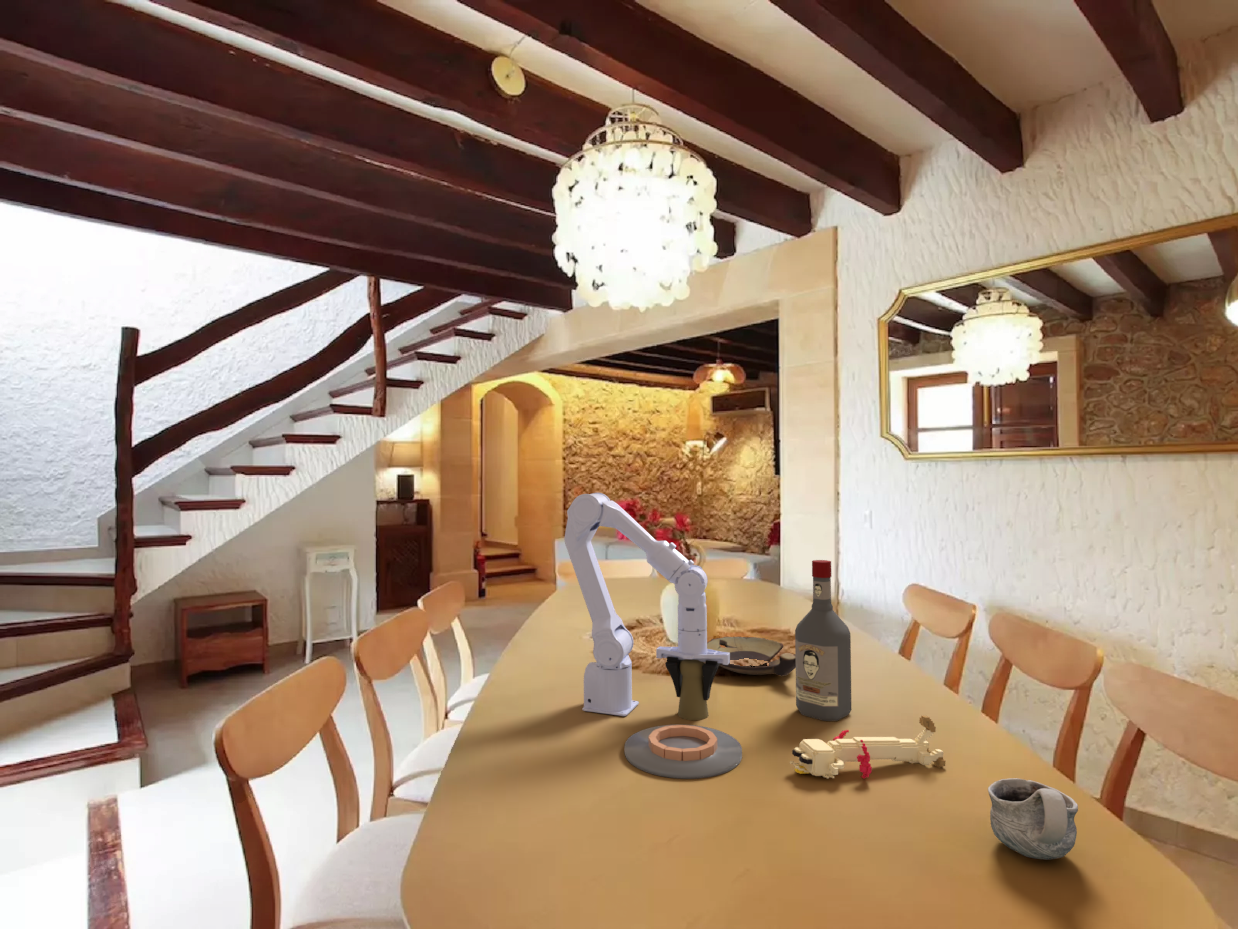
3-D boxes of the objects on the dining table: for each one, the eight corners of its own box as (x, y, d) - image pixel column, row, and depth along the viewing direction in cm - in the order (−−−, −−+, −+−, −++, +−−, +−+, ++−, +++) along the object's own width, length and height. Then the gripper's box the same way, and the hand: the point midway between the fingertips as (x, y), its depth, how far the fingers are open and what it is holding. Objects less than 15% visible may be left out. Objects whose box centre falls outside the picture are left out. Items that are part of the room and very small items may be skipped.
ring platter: (606, 767, 110) (606, 752, 110) (646, 724, 128) (646, 711, 128) (728, 787, 102) (728, 770, 102) (751, 738, 121) (751, 724, 121)
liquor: (814, 701, 140) (812, 557, 140) (856, 712, 134) (854, 560, 134) (791, 712, 134) (789, 561, 134) (833, 724, 127) (831, 565, 128)
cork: (707, 721, 130) (706, 663, 130) (676, 719, 131) (675, 662, 131) (709, 710, 135) (709, 655, 136) (679, 708, 137) (679, 654, 137)
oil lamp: (774, 654, 177) (774, 624, 177) (824, 690, 147) (823, 655, 147) (691, 658, 174) (691, 628, 174) (725, 696, 144) (725, 660, 144)
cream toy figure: (914, 757, 116) (778, 758, 111) (917, 706, 116) (782, 705, 111) (953, 783, 106) (807, 786, 101) (956, 727, 106) (811, 727, 101)
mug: (1049, 831, 89) (1048, 755, 89) (1116, 889, 77) (1114, 801, 77) (975, 830, 90) (974, 754, 90) (1029, 888, 77) (1028, 800, 77)
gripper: (651, 630, 132) (651, 699, 132) (724, 635, 127) (724, 708, 127) (662, 622, 139) (662, 688, 139) (731, 627, 133) (732, 696, 133)
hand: (693, 697), depth 133 cm, fingers closed on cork, 5 cm apart
